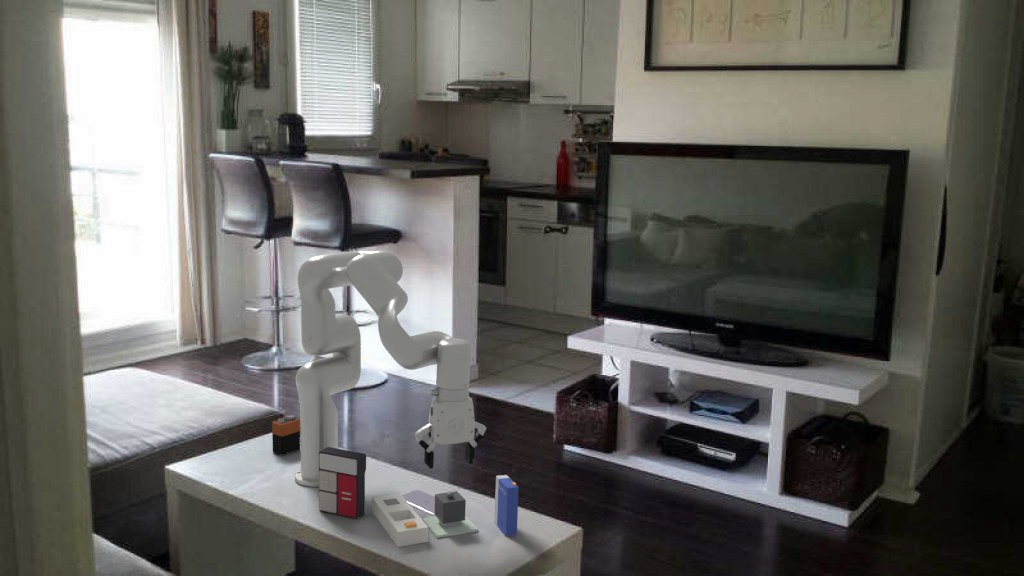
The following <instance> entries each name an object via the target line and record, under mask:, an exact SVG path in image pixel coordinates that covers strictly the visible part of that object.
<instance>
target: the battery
mask: <svg viewBox="0 0 1024 576" xmlns="http://www.w3.org/2000/svg"><path fill="white" fill-rule="evenodd" d="M271 426H272V427H271V429H272V431H271V432H272V435H271V436H272V453H274V454H277V455H280V456H285V454H286V455H288V454H291V453H293V452H294V453H295V452H296V451H299V450H301V446H300V418H296V417H295V415H294V414H288V415H286V417H281V418H278V419H277V420H274V421H272V425H271Z"/></svg>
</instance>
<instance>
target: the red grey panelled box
mask: <svg viewBox="0 0 1024 576" xmlns="http://www.w3.org/2000/svg"><path fill="white" fill-rule="evenodd" d="M366 470H367V454H366V453H363V452H359V451H351V450H347V449H342V448H338V449H337V448H331V447H327V448H325V449H323V450H321V451H319V487H318V510H319V511H320V512H324V513H330V514H334V515H339V516H344V517H349V518H353V519H359V518H361V517H362V516H363V515H364V514H365V512H366V511H365V509H366V507H365V506H366V504H365V503H366V500H365V498H366V483H365V482H366Z"/></svg>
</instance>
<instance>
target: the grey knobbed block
mask: <svg viewBox="0 0 1024 576" xmlns="http://www.w3.org/2000/svg"><path fill="white" fill-rule="evenodd" d="M434 497H435V516H436V517H437V518H438V519H439V522H440V524H441V525H442V526H443V527H444V528H449V527H455V526H461V521H464V520H465V516H466V499H465V498H464V497H463V495H461V493H460V492H459V491H457V490H454V491H447V492H442V493H441V492H440V493H436V494H434Z"/></svg>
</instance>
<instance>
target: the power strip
mask: <svg viewBox="0 0 1024 576" xmlns="http://www.w3.org/2000/svg"><path fill="white" fill-rule="evenodd" d="M402 495H403V494H401V493H397V494H390V495H389V494H388V495H384V496H383V495H382V496H377V497H372V501H371V502H372V505H371V506H372V508H371V509H372V511H371V513H373V515H374V516H375V517H376V519H377V520H378V521H379V523H380V524H381V525H382V527H383V528H384V530H385V532H386V533H387V534H388V535H389V537H390V538H391V539H392V541H393V542H394V543H395V545H396V546H397V547H398V548H400V547H405V546H411V545H418V544H423V543H428V542H429V528H428V526H427V525H426V524H425V523H424V521H423V520H422V518H421V516H420V515H419V514H418V512H416V511H415V509H414V507H412V506H410V505H409V503H408V502H407V501H406V500H405V499H404V497H403V496H402Z"/></svg>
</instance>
